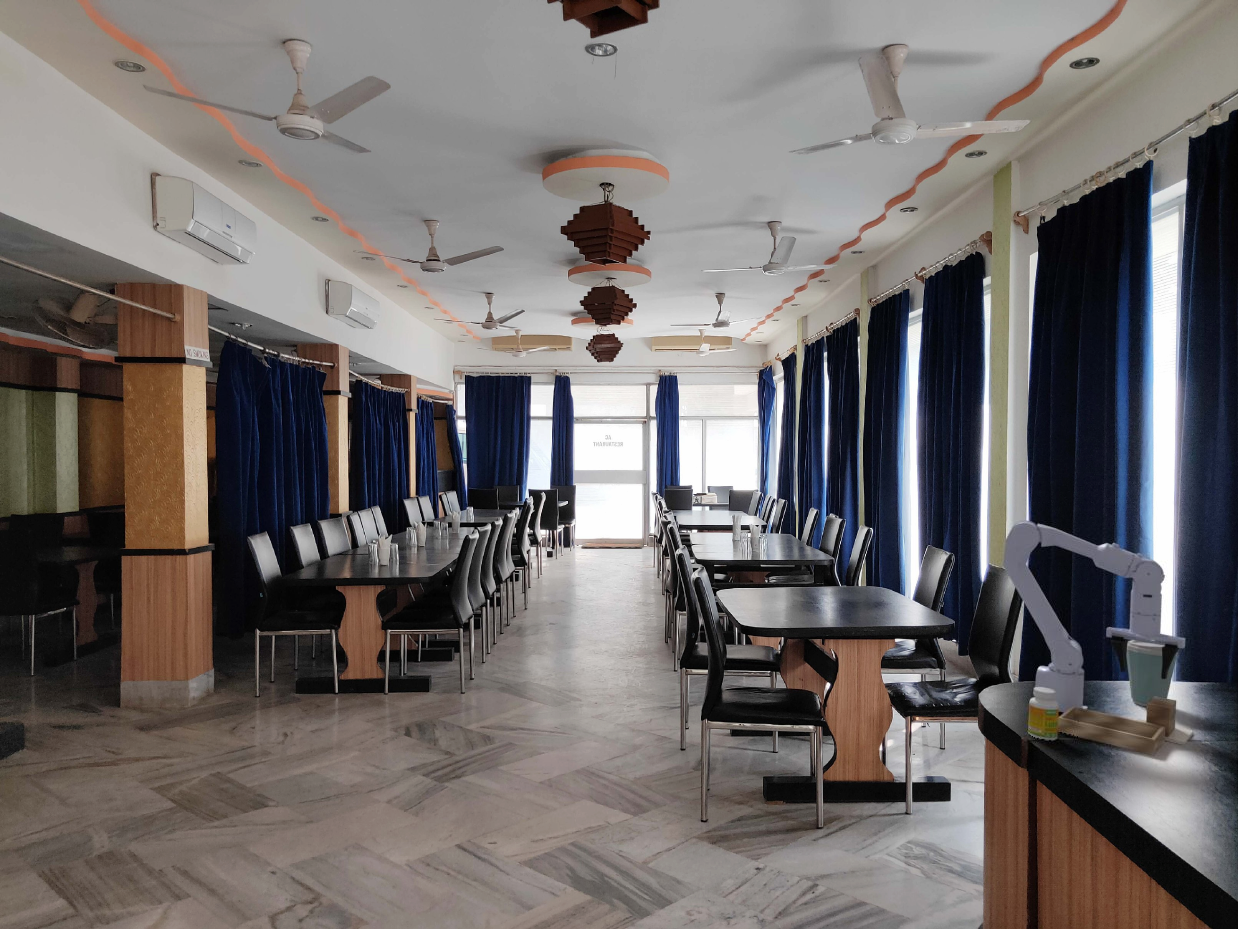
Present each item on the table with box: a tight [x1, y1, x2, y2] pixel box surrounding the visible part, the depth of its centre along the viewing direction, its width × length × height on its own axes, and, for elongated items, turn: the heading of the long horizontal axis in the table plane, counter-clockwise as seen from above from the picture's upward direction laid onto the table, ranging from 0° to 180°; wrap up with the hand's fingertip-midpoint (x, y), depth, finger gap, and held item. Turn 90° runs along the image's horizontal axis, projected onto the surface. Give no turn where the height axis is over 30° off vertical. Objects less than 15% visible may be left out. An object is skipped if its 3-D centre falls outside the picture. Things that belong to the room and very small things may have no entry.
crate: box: [1058, 706, 1166, 756], centre depth 169 cm, size 17×11×3 cm, turn 47°
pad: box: [1136, 718, 1194, 746], centre depth 172 cm, size 10×10×1 cm
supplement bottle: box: [1027, 687, 1059, 741], centre depth 167 cm, size 5×5×10 cm
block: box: [1145, 696, 1177, 737], centre depth 172 cm, size 4×8×6 cm, turn 137°
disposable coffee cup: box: [1126, 640, 1179, 708], centre depth 192 cm, size 11×11×15 cm
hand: (1143, 674), depth 179 cm, fingers open, 7 cm apart
